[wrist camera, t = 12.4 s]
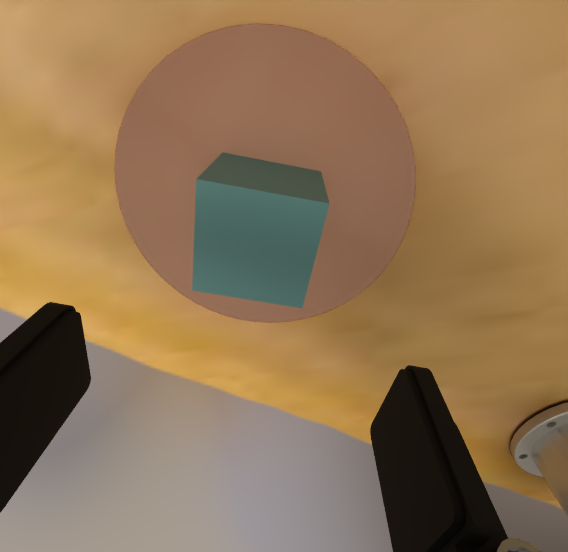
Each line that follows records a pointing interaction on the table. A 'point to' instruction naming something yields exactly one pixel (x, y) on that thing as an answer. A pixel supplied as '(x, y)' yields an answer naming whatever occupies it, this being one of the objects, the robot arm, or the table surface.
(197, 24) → the table surface
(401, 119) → the terracotta disc
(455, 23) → the table surface
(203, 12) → the table surface
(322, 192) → the teal block
